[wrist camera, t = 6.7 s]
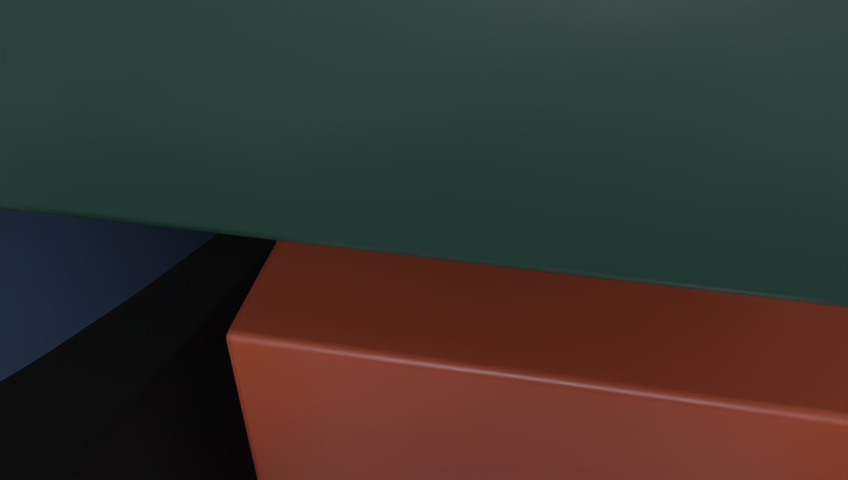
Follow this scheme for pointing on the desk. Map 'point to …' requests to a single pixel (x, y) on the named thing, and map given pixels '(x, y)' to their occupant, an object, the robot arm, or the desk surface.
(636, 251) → the bin lid
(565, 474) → the block
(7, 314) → the desk surface
